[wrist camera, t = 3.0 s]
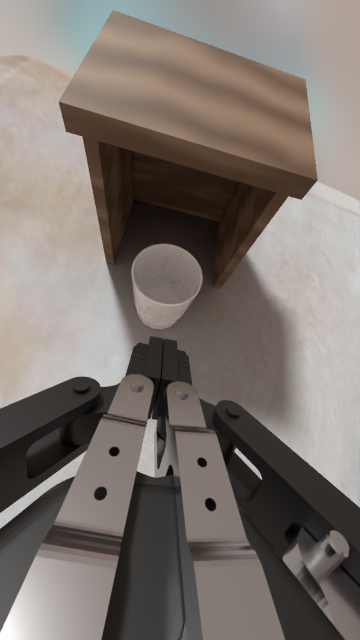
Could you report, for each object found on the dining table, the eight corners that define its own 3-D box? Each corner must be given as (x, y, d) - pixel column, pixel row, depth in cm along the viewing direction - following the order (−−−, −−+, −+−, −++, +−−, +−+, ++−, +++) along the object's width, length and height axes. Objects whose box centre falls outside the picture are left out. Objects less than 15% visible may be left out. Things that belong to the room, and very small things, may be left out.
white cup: (194, 316, 35) (216, 284, 26) (151, 344, 32) (159, 319, 23) (165, 276, 36) (175, 233, 27) (121, 300, 34) (117, 261, 24)
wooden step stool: (227, 290, 38) (317, 180, 19) (97, 260, 35) (58, 101, 17) (232, 217, 44) (305, 79, 25) (122, 187, 41) (112, 9, 23)
